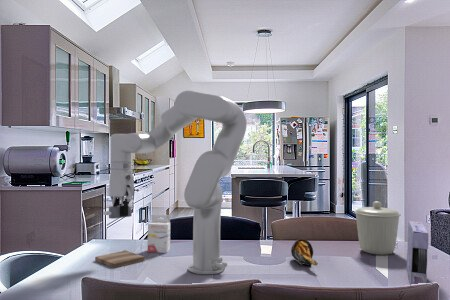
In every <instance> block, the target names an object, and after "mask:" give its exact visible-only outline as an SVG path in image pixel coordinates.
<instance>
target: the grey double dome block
mask: <svg viewBox="0 0 450 300" xmlns="http://www.w3.org/2000/svg"><path fill="white" fill-rule="evenodd" d="M120 206H121V205H119V206H113V205H112V206H108V211H103V212H102V215H104V216H108V218H109V219H121V218H123V219H124V218H130V217H132V214H133V212H132V210H133V209H132V206H133V205H132V204H129V205H128V216H122V217H121V216H120Z"/></svg>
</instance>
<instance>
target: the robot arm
mask: <svg viewBox="0 0 450 300" xmlns="http://www.w3.org/2000/svg"><path fill="white" fill-rule="evenodd" d="M160 118H161V119H160V123H159V124H158V125H157V126H156V127H155V128H153V129H152V130H151V131H150V130H149V132H146V133H143V132H131V133H113V134H111V136H110V171H109V172H110V174H109V184H108V185H109V187H108V188H109V190H108V191H109V197H110V199H111V201H112V202H111V204H112V206H119V205H121V206H120V216H121V217H122V216H128V205H130V202H131V201H132V199H133V197H134V194H135V191H134V189H135V187H134V177H133V172H132V154H150V153H153V152H154V151H156V150H158V149H159V148H161V147H162V146H164V145H165V144H167V143H168V142H169V141H170V140H171V139H172V138H173V137H174V136H175V134H176V133H178V132H179V131H181V130H183V129H184V128H185V127H187V126H188V125H190V124H191V123H193V122H195V121H197V119H200V120H205V121H209V122H210V121H211V122H215V123H219V124H221V125H222V126H221V128H222V129H221V130H220V131H219V133H218V134H217V137H216V139H215V142H214V145H213V146H212V148H211V150H207V151H205V152H203V153H202V154H201V155H200V156H199V157H198V158H197V160H196V162H195V164H194V166H193V169H192V171H191V173H190V176H189V179H188V181H187V183H186V185H185V186H186V187H185V188H184V193H183V197H184V201H185V203H186V205H187V206H188V207H189V208H191V209H193V210H194V211H193V221H192V222H193V223H192V250H193V251H192V262H191V263H190V264H189V265H188V271H189V272H191V273H192V274H193V273H194V274H196V275H214V274H215V275H216V274H220V273H222V272H224V271H225V269H226V268H227V267H228V263H227V262H224V261H223V256H221V217H222V214H221V213H222V203H223V189H222V187H221V185H220V184H219V183H220V180H221V179H222V178H225V177H226V176H228V175H229V173H230V171H231V170H232V167H233V164H234V162H235V159H236V158H237V155H238V152H239V150H240V146H241V145H242V142H243V140H244V137H245V136H246V135H245V134H246V131H247V127H248V126H247V118H246V115H245V113H244V111H243V109H242V108H241V107H240V106H239V105H238V104H237V103H236V102H234V101H233V100H232V99H231V100H230V99H229V98H227V97H224V96H220V95H215V94H210V93H205V92H198V91H193V90H184V91H181V92H180V93H178V95H176V97H175V99H174V105H173V106H171V107H170V108H168V109H167V110H165V111H164V112H162V113H161V115H160Z"/></svg>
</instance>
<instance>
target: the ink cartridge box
mask: <svg viewBox="0 0 450 300" xmlns="http://www.w3.org/2000/svg"><path fill="white" fill-rule="evenodd" d="M150 218H151V220H150V222H149V223H148V224H147V253H162V254H166V253H169V252H170V251H171V216H170V215H169V214H151V217H150Z"/></svg>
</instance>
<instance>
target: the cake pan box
mask: <svg viewBox="0 0 450 300" xmlns="http://www.w3.org/2000/svg"><path fill="white" fill-rule="evenodd" d="M407 226H408V227H407V249H406V251H407V253H406V274H407V278H408V282H409V285H410V284H418V283H426V284H427V281H428V280H427V279H428V278H427V276H428V275H427V271H428V270H427V269H428V249H429V232H428V230H427V228H426V226H425V225H424V223H423V222H421V221H416V220H415V221H413V220H409V221H408V225H407Z"/></svg>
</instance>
